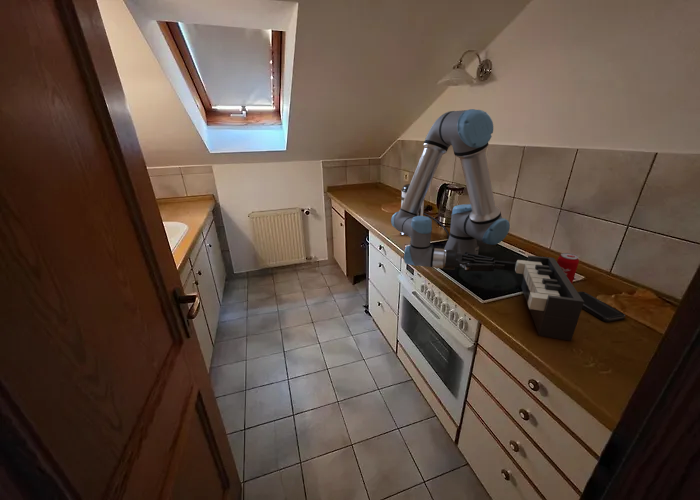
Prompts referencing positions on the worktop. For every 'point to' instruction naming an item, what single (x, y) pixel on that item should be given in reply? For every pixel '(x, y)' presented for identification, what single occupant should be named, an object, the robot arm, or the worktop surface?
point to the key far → (521, 264)
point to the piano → (552, 298)
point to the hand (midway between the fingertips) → (514, 266)
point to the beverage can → (568, 264)
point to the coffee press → (404, 191)
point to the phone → (600, 308)
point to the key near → (537, 301)
